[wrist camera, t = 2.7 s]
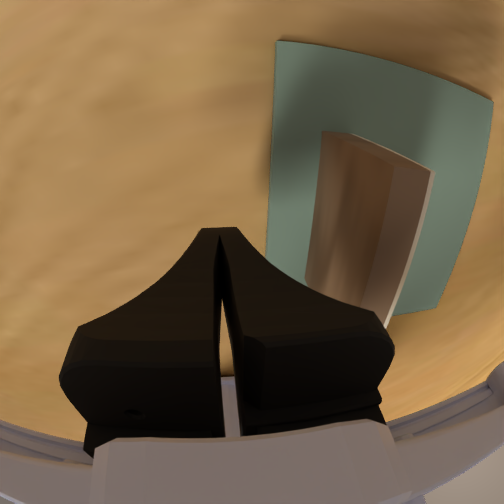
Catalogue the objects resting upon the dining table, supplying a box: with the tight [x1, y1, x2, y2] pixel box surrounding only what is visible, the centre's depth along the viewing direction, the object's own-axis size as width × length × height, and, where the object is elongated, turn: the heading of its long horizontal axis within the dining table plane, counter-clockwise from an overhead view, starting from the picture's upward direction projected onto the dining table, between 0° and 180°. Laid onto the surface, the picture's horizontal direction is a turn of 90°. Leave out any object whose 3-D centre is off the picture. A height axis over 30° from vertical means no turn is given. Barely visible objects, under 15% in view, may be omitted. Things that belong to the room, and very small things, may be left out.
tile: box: [304, 131, 435, 329], centre depth 12 cm, size 8×2×6 cm, turn 178°
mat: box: [265, 41, 494, 316], centre depth 15 cm, size 16×14×1 cm
